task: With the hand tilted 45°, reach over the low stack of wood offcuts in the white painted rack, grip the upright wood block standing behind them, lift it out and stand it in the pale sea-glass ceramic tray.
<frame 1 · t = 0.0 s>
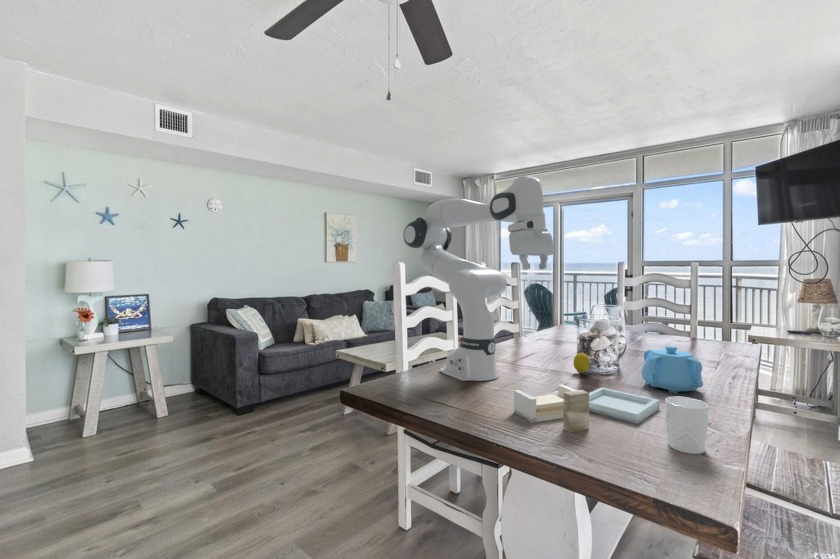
hand: (535, 269, 128), 39 cm above the table, tool pointing down, fingers open, 8 cm apart
white cup: (685, 448, 87), on the table
lemon: (581, 374, 148), on the table
upright wood block: (576, 429, 98), on the table
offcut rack: (547, 413, 108), on the table
decorative pot: (670, 388, 130), on the table
ceramic tray: (617, 408, 112), on the table
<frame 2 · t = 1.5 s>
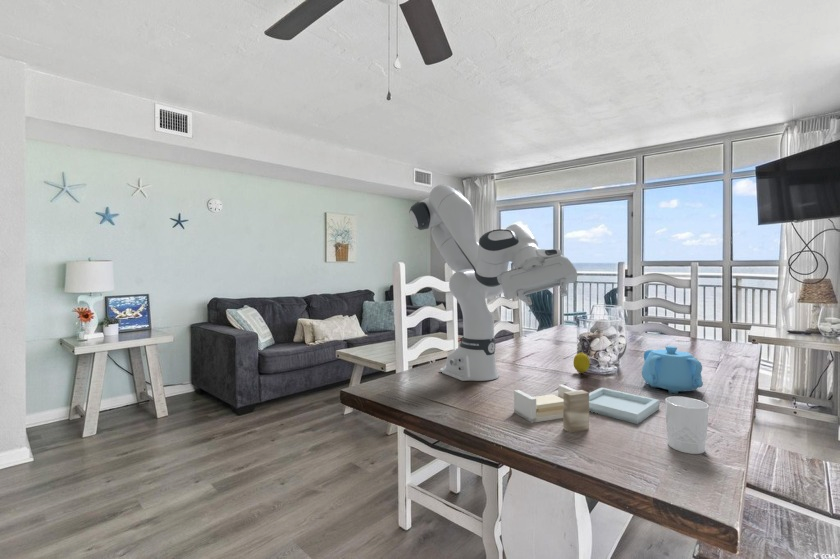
hand: (546, 299, 105), 31 cm above the table, tool tilted 50°, fingers open, 8 cm apart
nothing on the table moved.
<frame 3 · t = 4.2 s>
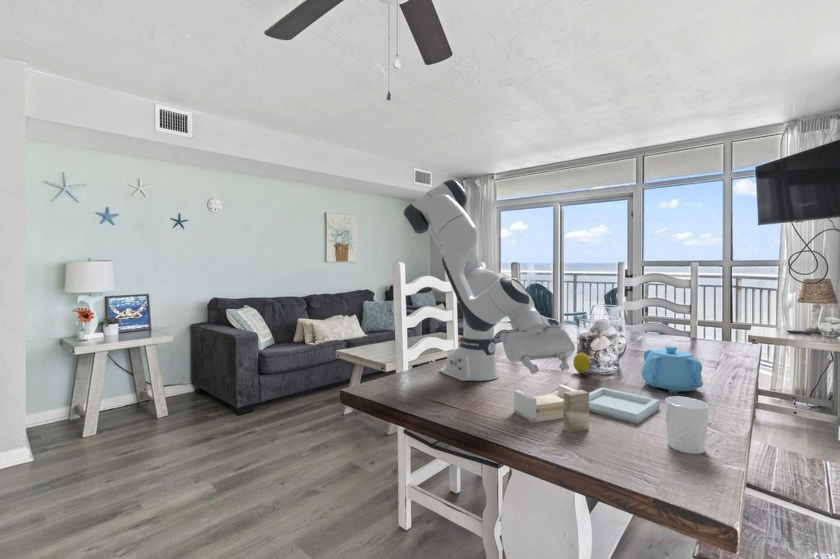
hand: (551, 371, 105), 12 cm above the table, tool tilted 45°, fingers open, 8 cm apart
nothing on the table moved.
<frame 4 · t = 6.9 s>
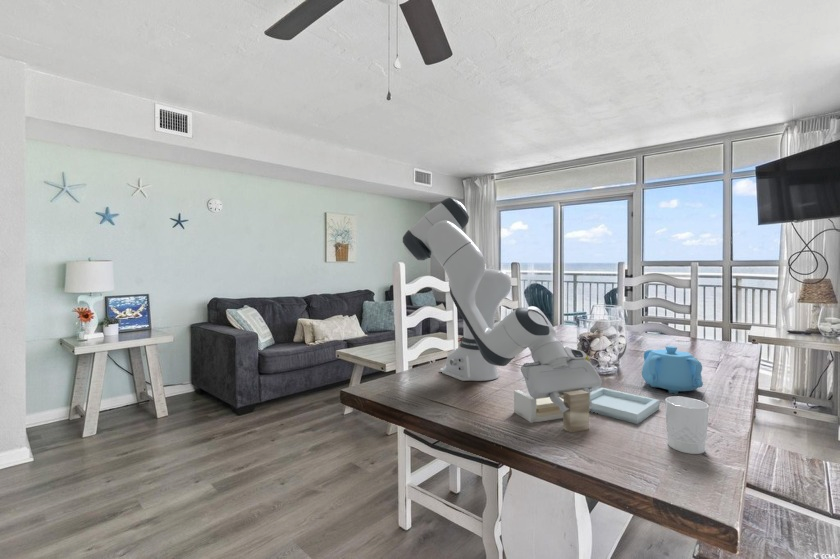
hand: (578, 409, 97), 5 cm above the table, tool tilted 45°, fingers closed on upright wood block, 5 cm apart
upright wood block: (576, 429, 98), on the table, touching gripper
everything else where it was.
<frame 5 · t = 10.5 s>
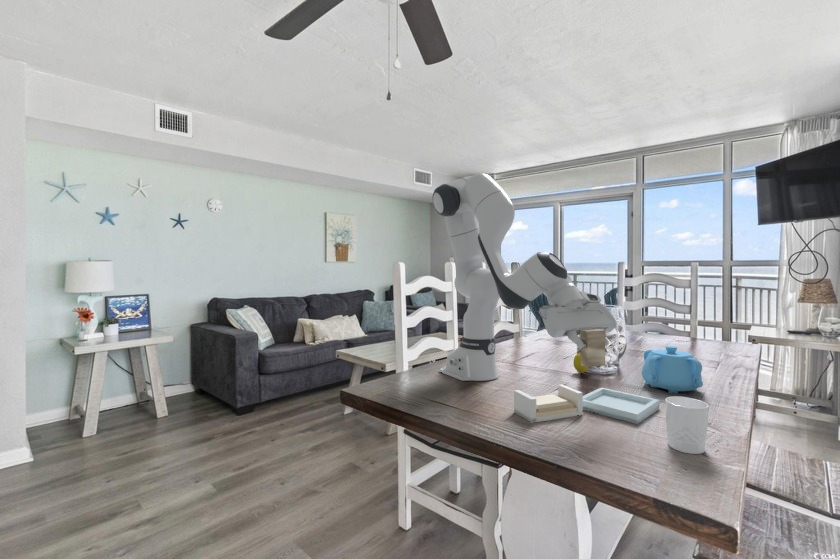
hand: (594, 346, 102), 19 cm above the table, tool tilted 45°, fingers closed on upright wood block, 5 cm apart
upright wood block: (592, 365, 102), point 14 cm above the table, touching gripper
everything else where it was.
when the fingers open (7 cm above the table, at t = 14.2 s): upright wood block drops 1 cm, resting on ceramic tray.
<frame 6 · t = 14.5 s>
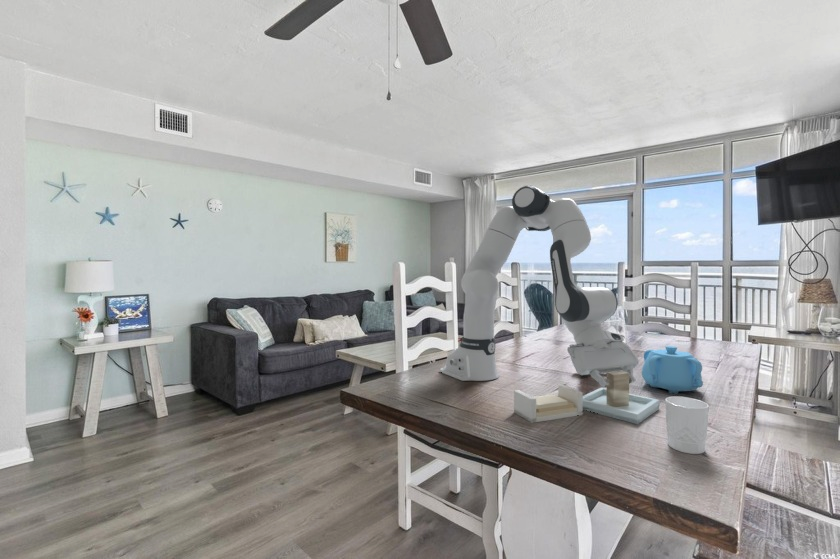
hand: (619, 384, 111), 7 cm above the table, tool tilted 45°, fingers open, 8 cm apart
upright wood block: (617, 404, 112), point 1 cm above the table, touching ceramic tray
everything else where it was.
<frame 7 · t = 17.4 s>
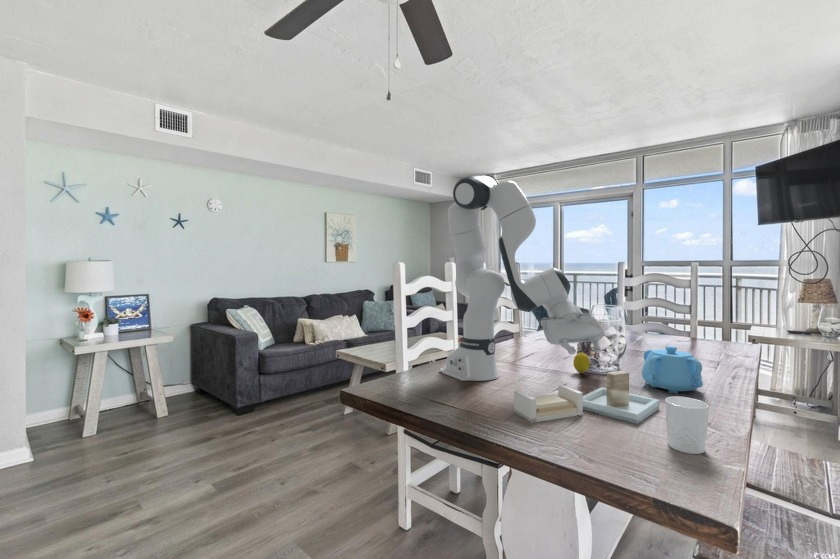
hand: (585, 352, 123), 13 cm above the table, tool tilted 45°, fingers open, 8 cm apart
nothing on the table moved.
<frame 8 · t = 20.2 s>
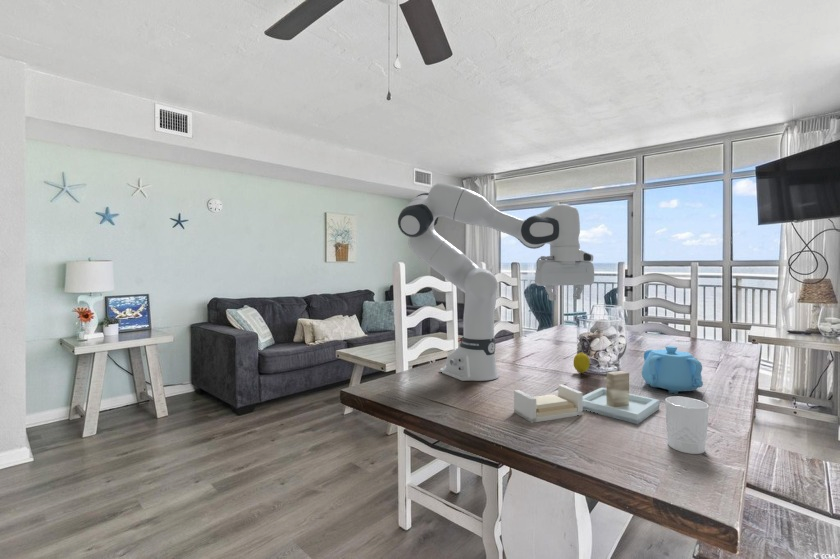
hand: (564, 299, 127), 29 cm above the table, tool pointing down, fingers open, 8 cm apart
nothing on the table moved.
at the end: upright wood block inside the target area on the ceramic tray (0.1 cm from its centre), point 1.0 cm above the ceramic tray's base; the gripper is holding nothing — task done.
